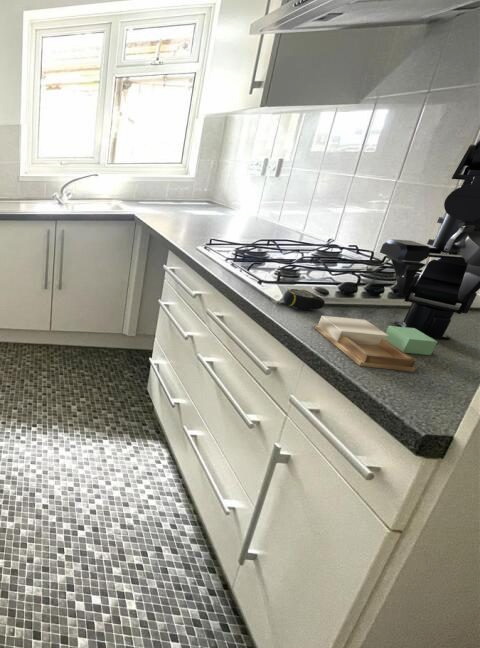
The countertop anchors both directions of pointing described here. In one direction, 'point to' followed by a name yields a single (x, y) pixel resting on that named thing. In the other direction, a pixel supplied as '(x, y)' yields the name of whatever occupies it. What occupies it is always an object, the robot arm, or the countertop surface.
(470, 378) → the countertop surface
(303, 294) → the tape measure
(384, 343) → the frame
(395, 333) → the green rectangular block
